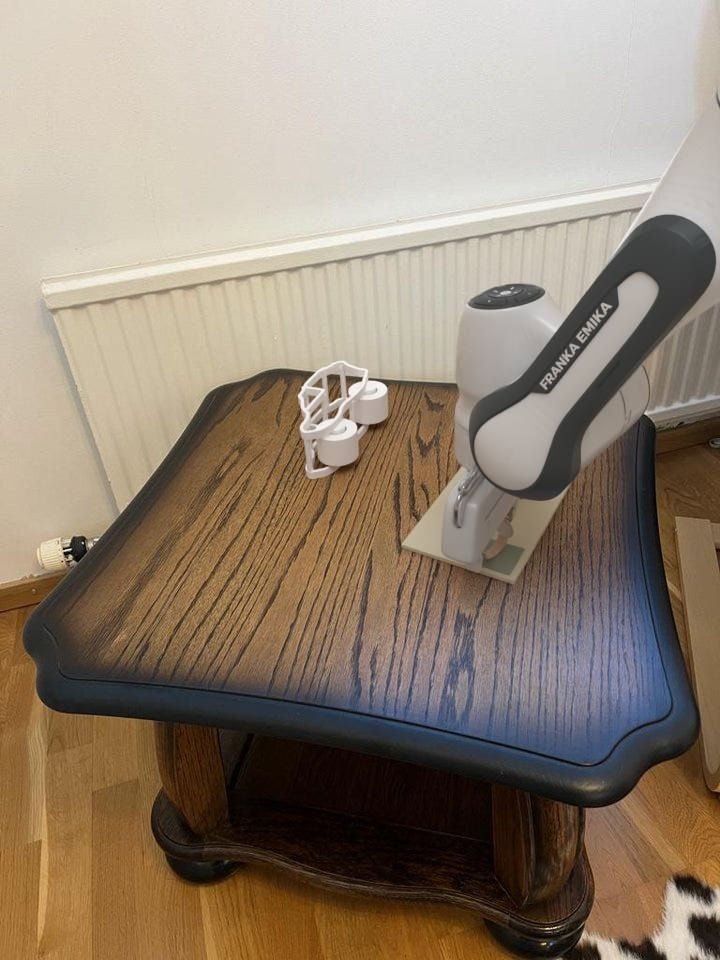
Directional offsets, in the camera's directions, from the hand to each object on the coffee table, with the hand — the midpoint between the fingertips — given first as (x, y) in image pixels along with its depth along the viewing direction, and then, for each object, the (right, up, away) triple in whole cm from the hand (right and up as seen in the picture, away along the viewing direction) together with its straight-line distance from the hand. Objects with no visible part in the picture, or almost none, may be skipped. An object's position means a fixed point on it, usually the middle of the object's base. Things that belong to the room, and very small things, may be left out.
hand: (491, 542), depth 86 cm
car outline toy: (-18, +13, +24) cm, 32 cm away
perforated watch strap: (0, -2, +1) cm, 2 cm away
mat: (+1, +3, +8) cm, 9 cm away
